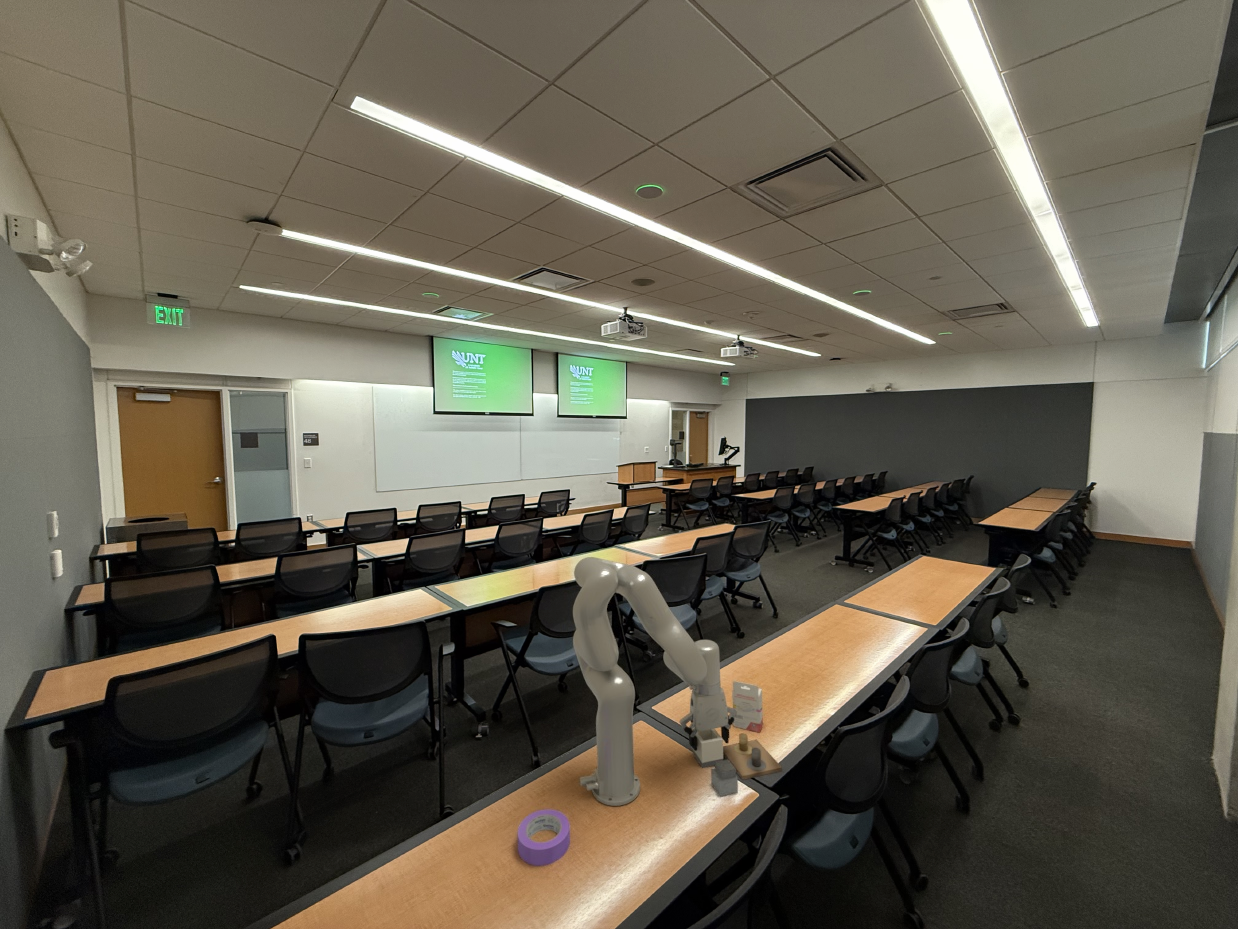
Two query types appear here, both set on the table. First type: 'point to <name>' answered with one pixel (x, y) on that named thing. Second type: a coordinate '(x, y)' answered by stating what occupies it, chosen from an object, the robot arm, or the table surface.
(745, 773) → the board
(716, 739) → the sleeve
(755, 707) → the ink cartridge box
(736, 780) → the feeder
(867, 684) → the table surface
